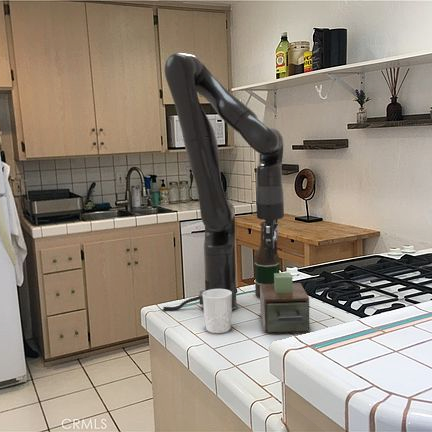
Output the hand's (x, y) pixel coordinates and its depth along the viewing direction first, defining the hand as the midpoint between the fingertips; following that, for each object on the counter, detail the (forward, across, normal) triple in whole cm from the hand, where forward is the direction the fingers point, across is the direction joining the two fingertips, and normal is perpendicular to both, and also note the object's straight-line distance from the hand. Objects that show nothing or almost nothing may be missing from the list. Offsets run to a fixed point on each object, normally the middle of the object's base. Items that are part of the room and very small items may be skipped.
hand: (271, 257), depth 142 cm
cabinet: (+17, +6, +3) cm, 18 cm away
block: (+8, +6, +4) cm, 10 cm away
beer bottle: (+17, -17, -4) cm, 24 cm away
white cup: (+17, +13, -14) cm, 25 cm away
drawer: (+16, +11, +4) cm, 20 cm away
